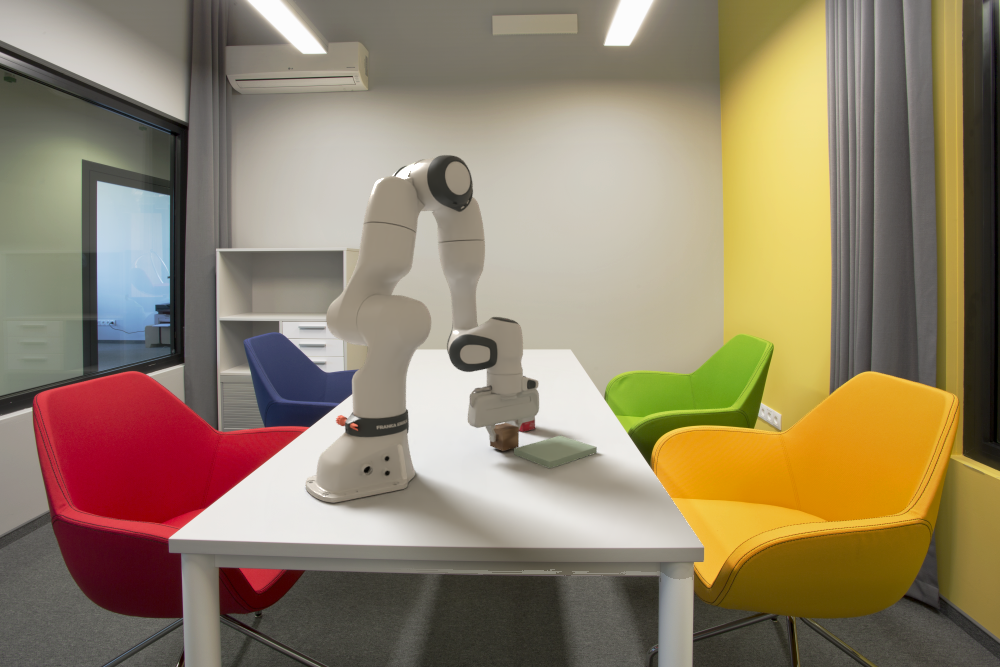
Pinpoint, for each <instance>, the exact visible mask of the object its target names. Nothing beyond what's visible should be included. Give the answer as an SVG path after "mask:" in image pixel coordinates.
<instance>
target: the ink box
mask: <svg viewBox="0 0 1000 667" xmlns="http://www.w3.org/2000/svg"><path fill="white" fill-rule="evenodd" d="M504 423H508V424H511V425H514V421H508V422H504ZM531 430H536V416H531V417H527V418H522V424H521V426H520V429H519V432H522V433H524V432H527V431H531Z"/></svg>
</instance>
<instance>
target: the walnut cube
mask: <svg viewBox="0 0 1000 667" xmlns="http://www.w3.org/2000/svg"><path fill="white" fill-rule="evenodd" d="M494 431H495V433H496V434H499V437H498V439H499V440H498V441H496V442H491V441H490V440H489V446H490V447H492V448H495V449H496V450H499V451H502V452H505V451H508V450H512V449H514V448H518V447H520V446H519V445H520V444H519V442H520V441H519V437H520V433H519V432H520V431H519V427H517V426H514V425H511V424H508V423H505V422H503V423H499V424H495V429H494Z"/></svg>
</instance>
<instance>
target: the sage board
mask: <svg viewBox="0 0 1000 667" xmlns="http://www.w3.org/2000/svg"><path fill="white" fill-rule="evenodd" d="M513 449H514V450H513V452H514V454H515V456H517V457H519V456H520V457H519V458H522V459H524V458H525V460H528V461H529V462H532V463H535V464H538V465H540V466H543V467H545V468H548V469H553V468H555V467H558V466H562V465H564V464H567V463H570V462H573V461H576V460H580V459H582V458H586V457H588V455H589V456H591V455H590V454H592V455H594V454H593V453H595V454H597V453H598V452H597V450H598V449H597V446H594V445H592V444H588V443H585V442H582V441H579V440H576V439H572V438H569V437H566V436H564V435H558V436H554V437H551V438H547V439H543V440H540V441H535V442H531V443H529V444H525V445H522V446H519V447H517V448H513ZM596 452H597V453H596ZM585 456H586V457H585ZM579 458H580V459H579Z"/></svg>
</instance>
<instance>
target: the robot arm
mask: <svg viewBox="0 0 1000 667" xmlns="http://www.w3.org/2000/svg"><path fill="white" fill-rule="evenodd" d="M473 185H474V183H473V178H472V174H471V170H470V169H469V167H468V165H467V163H466V162H465V161H464V160H463V159H462V158H460V157H458V156H456V155H451V154H443V155H442V154H441V155H438V156H436V157H430V158H426V159H420V160H417V161H415V162H412V163H410V164H408V165H404V166H402V167H400V168H399V169H398V170H397V169H396V171H395V172H394V173H393V174H392V175H389V176H383V177H381V178H380V179H378V180H376V181H375V183H374V184H373V185H372V186H373V187H372V189H371V191H370V196H369V198H368V201H367V205H366V208H365V214H364V218H363V223H362V224H363V226H362V232H361V238H360V244H359V251H358V257H357V261H356V263H355V267H354V269H353V272H352V274H351V277H350V278H349V280H348V282H347V284H346V286H344V287H345V288H344V289H343V291H342V292H341V293H340V294H339V295H338V296H337V297H336V298H335V299H334V300H333V301H332V302H331V303H330V305H329V306H328V308H327V311H326V317H325V321H326V322H325V323H326V326H327V329H328V331H329V332H330V334H331V335H332V336H333V337H335V338H337V339H339V340H340V341H343V342H345V343H348V344H351V345H354V346H364V347H367V354H366V357H365V360H364V364H362V367H360V368H359V369H358V370H356V371H355V373H354V374H353V375H352V379H351V390H352V391H351V392H352V394H351V395H352V396H351V397H352V412H351V414H350V415H349V416H348V417H347V416H345V415H342V414H341V415H338V416H337V417H336V418H335V419H336V420H335V422H336V424H337V425H338V426H340V427H344V430H345V432H343V433H342V434H341V435H340V436H339V437H338V438H337V439H336V440H335V441H334V442H333V443H332V444H330V445H329V446H328V447H327V448H326V449H325V450H323V451H322V452H321V453H320V456H319V457H318V460H317V466H316V473H315V475H312V476H308V477H307V478H306V480H305V486H306V487H305V489H306V491H307V492H308V493H309V494H310V495H311V496H312V497H313V498H316V499H318V500H320V501H323V502H326V503H339V502H344V501H345V502H346V501H349V500H350V501H351V500H355V499H360V498H365V497H370V496H374V495H376V496H377V495H380V494H385V493H390V492H394V491H395V492H396V491H401V490H403V489H404V490H405V489H406V488H408V485H409V482H410V481H411V480H412V479H414V477H415V476H416V470H415V468H414V465H413V460H412V457H411V456H412V455H411V451H410V445H409V436H408V434H409V427H410V426H409V425H410V422H409V420H410V418H409V409H407V376H408V372H409V371H408V369H409V367H410V364H411V361H412V358H413V356H414V354H415V352H416V351H417V349H418V348H420V346H422V345H423V344H424V343H425V342H426V341H427V339H428V337H429V336H430V333H431V330H432V317H431V313H430V310H429V309H428V307H427V306H426V304H424V303H423V302H422V301H420V300H417V299H414V298H412V297H409V296H405V295H402V294H401V295H399V294H398V295H397V294H396V295H395V294H393V293H394V290H395V288H396V287H397V285H398V284H399V282H400V281H402V279H403V278H404V277H406V276H407V275H408V274H409V273H410V272H411V269H412V267H413V262H414V254H415V247H416V239H417V232H418V231H417V230H418V219H419V216H420V214H421V212H429V211H431V214H432V215H433V217H434V219H435V221H436V224H437V249H438V255H439V260H440V262H439V263H440V265H441V268H442V272H443V275H444V278H445V280H446V282H447V285H448V288H449V292H450V298H451V300H450V302H451V314H452V315H451V317H452V327H451V331H450V333H449V336H448V339H447V343H446V351H447V354H448V358H449V360H450V362H451V364H452V365H453V367H455V368H456V369H458V370H459V371H461V372H464V373H473V372H478V371H483V370H486V386H483V387H476V388H474V389H473V391H471V392H470V394H469V401H468V402H469V403H468V409H467V410H468V411H467V422H468V424H469V425H470V426H471V427H473V428H475V429H476V428H477V429H479V428H484V427H485V429H486V431H487V432H488V434H489V442H490V441H491V442H496V441H498V440H499V439H498V437H499V434H496V433H495V431H494V429H495V425H498V424H503V423H505V422H508V421H514V426H517V427H519V429H520V426H521V424H522V418H527V417H531V416H535V417H536V416H537V415H538V413H539V412H540V394H539V390H538V388H539V380H537V379H534V378H531V377H527V376H526V375H523V373H524V372H523V370H524V369H523V367H522V366H523V365H522V359H523V355H524V345H523V344H524V342H523V341H524V340H523V330H522V327H521V325H520V323H518V322H517V321H515V320H514V319H512V318H511V319H510V318H506V317H501V316H493V317H490V318H489V319H488V320H487V321H485V322H483V323H482V324H480V325H479V324H478V316H477V315H478V313H477V289H478V288H477V287H478V284H479V280H480V278H481V276H482V274H483V272H484V268H485V267H484V266H485V265H484V264H485V260H486V259H485V257H486V242H485V241H486V240H485V230H484V229H485V228H484V223H483V217H482V212H481V209H480V205H479V202H478V201H477V200H476V198H475V197H473V195H474V189H473Z"/></svg>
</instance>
